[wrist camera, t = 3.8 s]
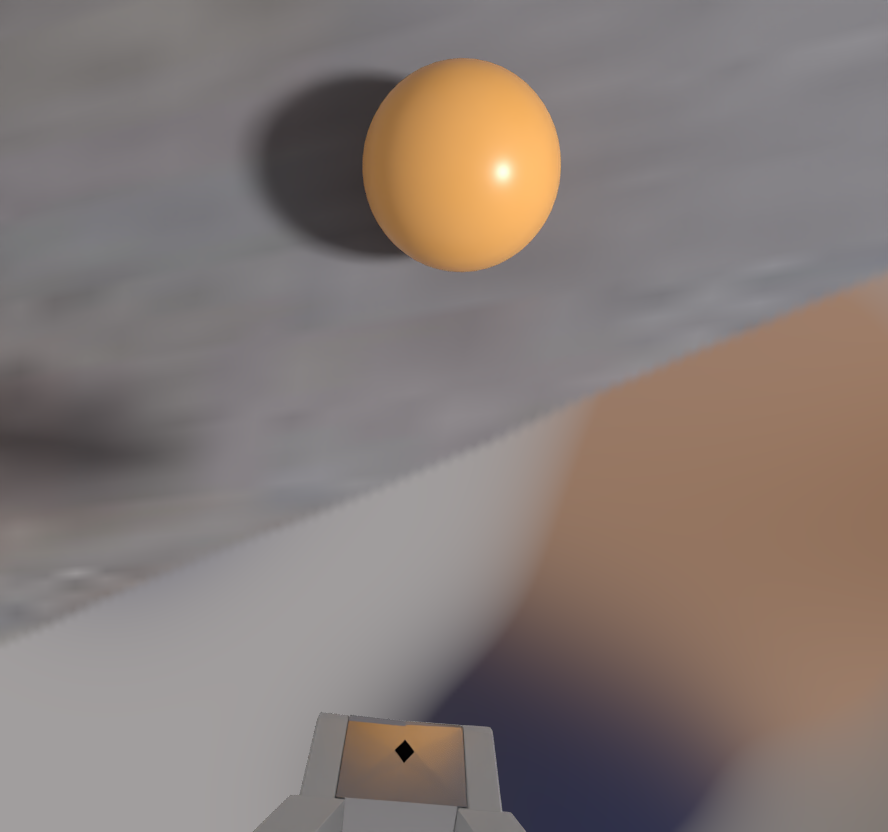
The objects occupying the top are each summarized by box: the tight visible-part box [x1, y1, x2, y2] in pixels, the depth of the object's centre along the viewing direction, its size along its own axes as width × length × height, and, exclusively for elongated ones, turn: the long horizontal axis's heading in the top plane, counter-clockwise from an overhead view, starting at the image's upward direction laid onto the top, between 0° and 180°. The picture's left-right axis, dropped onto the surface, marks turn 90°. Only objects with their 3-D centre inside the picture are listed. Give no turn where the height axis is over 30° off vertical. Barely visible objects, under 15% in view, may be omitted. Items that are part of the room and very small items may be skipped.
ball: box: [363, 58, 561, 272], centre depth 19 cm, size 6×6×6 cm
